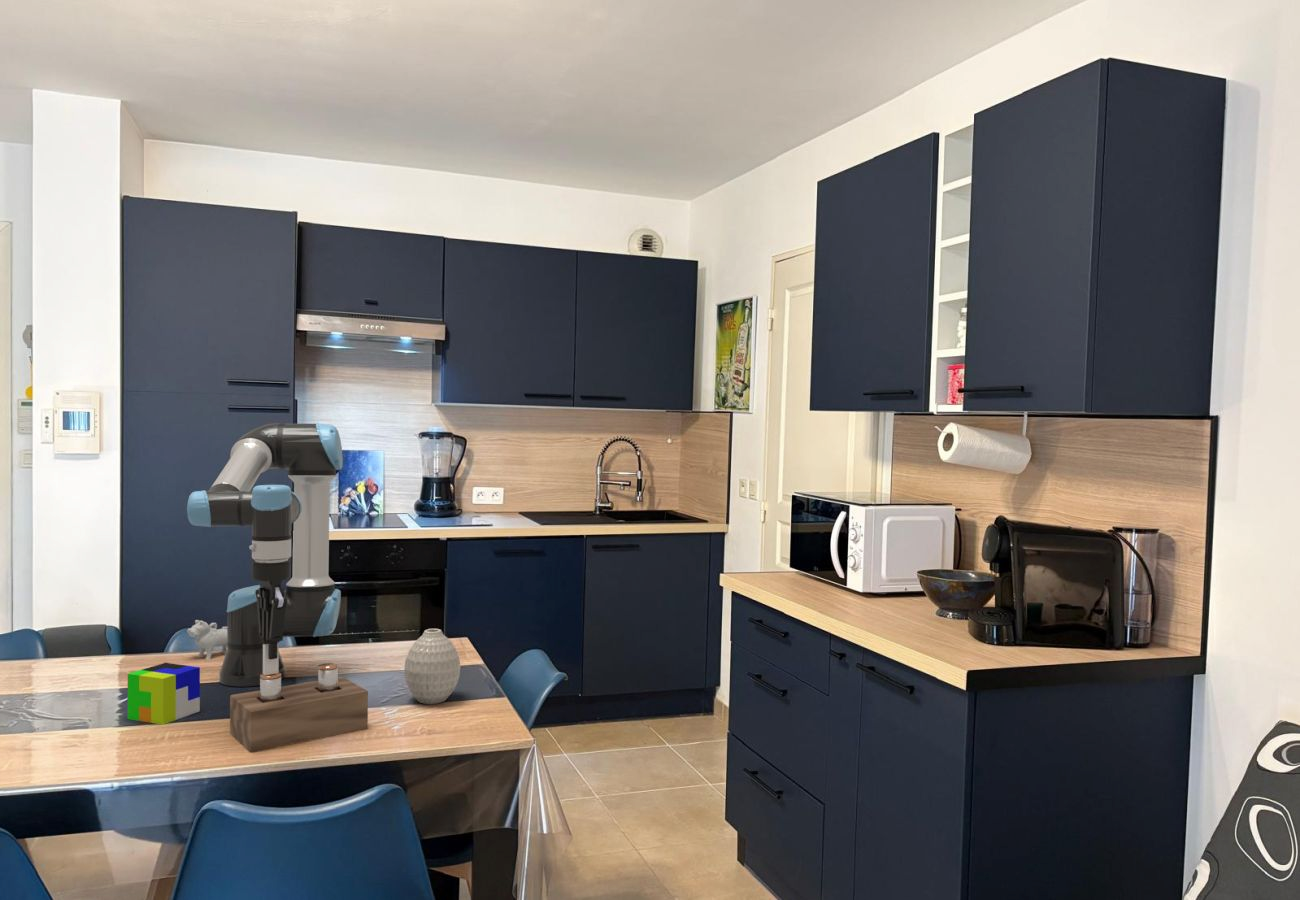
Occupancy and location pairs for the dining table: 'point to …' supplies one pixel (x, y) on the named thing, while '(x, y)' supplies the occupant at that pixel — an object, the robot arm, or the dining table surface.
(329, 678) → the peg
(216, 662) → the dining table surface
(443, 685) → the vase
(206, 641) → the dog figurine
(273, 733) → the socket block
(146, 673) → the puzzle toy
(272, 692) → the peg
